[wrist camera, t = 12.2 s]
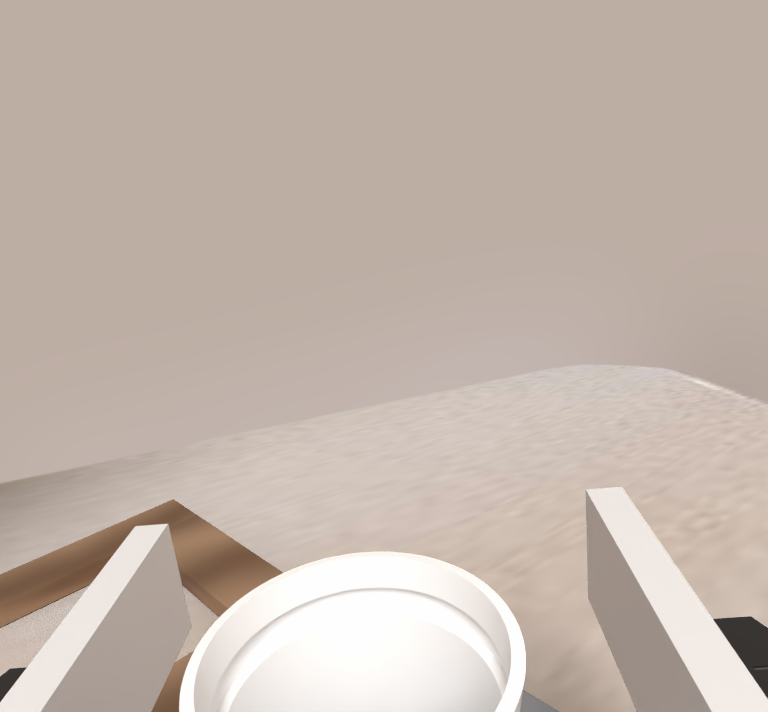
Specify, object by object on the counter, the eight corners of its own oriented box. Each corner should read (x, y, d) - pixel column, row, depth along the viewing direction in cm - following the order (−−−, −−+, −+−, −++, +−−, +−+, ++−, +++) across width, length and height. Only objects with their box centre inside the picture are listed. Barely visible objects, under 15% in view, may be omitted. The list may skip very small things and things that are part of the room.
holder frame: (-167, 669, 28) (-175, 650, 27) (176, 514, 38) (173, 499, 37) (-136, 978, 16) (-150, 950, 16) (347, 634, 26) (344, 614, 26)
